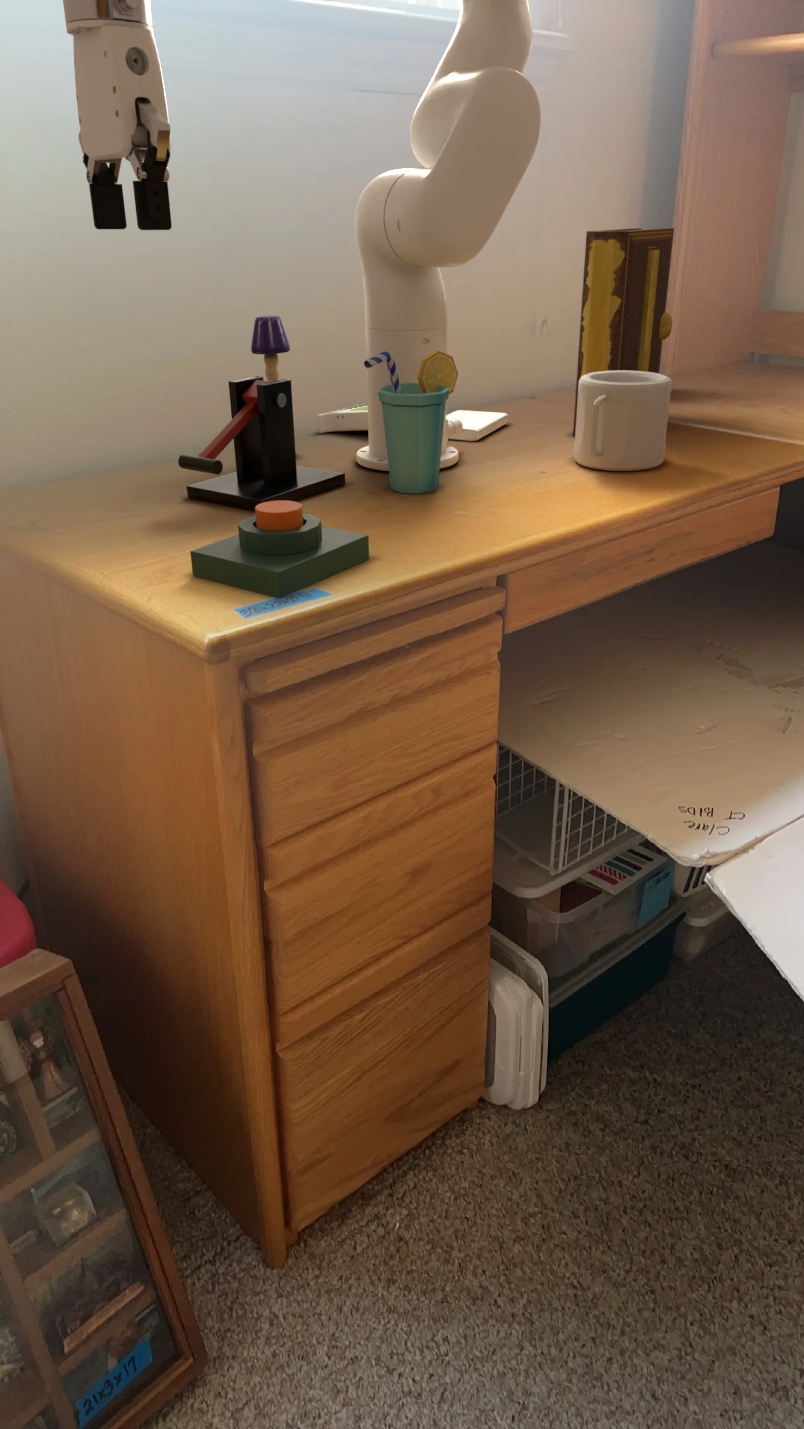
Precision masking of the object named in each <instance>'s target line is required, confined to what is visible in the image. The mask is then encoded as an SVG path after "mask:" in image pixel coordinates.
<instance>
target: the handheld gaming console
mask: <svg viewBox="0 0 804 1429" xmlns="http://www.w3.org/2000/svg"><path fill="white" fill-rule="evenodd" d="M345 409H346V408H342V410H341V409H336V410H333V411H329V412H324V413H320V414H317V415H316V421H317V427H318V428H317V429H318V432H319V434H325V433H330V432H331V433H332V432H353V431H355V432H357V431H368V405H367V406H362V407H357V408H352V409H346V410H345Z"/></svg>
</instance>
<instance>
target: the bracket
mask: <svg viewBox="0 0 804 1429" xmlns="http://www.w3.org/2000/svg"><path fill="white" fill-rule="evenodd" d="M256 380H262V381H264V376H260V375H256V376H249V377H243V378H240V379H233V380H229V381H228V392H229V393H228V394H229V404H230V415H231V420H232V419H233V418H234V417H235V416H236V415H237V414H238V413H239V411H240V410H241V409H242V408H243V407H244V406H245V405H246V403H245V401H244V399H243V397H242V395H243V394H244V393H245V392H246V391H247V390H248V389H249V388H250V387H251V386H252V384H253V383H254V382H255V381H256ZM256 386H257V399H258V412H259V415H254V417H253V418H252V419H251V420H250V421H249V422H248V423H247V424H246V425H245V426H244V428H243V429H242V430H241V431H240V432H239V433H238V434H237V435H236V436H235V437H234V439H233V449H234V457H235V458H234V460H235V469H236V470H235V471H233V472H230V473H226V474H223V475H220V476H216V477H213V478H209V479H206V480H203V481H199V482H196V483H192V484H189V485H186V496H187V498H188V499H193V500H194V499H195V500H197V501H198V500H199V501H202V502H203V501H204V502H208V503H213V504H217V505H218V504H219V505H223V506H227V507H228V506H229V507H233V508H238V509H243V510H249V511H254V512H255V507H256V506H257V505H258V504H261V503H264V502H268V501H277V500H287V501H295V502H298V501H300V500H303V499H306V498H308V497H312V496H314V495H318V494H320V493H323V492H326V491H329V490H333V489H335V488H338V487H341V486H344V485H346V473H345V472H342V471H336V470H329V469H323V468H316V467H311V466H304V465H298V464H297V457H296V455H297V452H296V438H295V437H296V436H295V423H294V421H295V420H294V407H293V406H294V405H293V391H292V390H293V389H292V380H291V379H288V378H282V379H278V380H277V381H272V382H267V383H262V384H257V385H256ZM295 452H296V453H295Z"/></svg>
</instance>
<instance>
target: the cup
mask: <svg viewBox="0 0 804 1429" xmlns="http://www.w3.org/2000/svg"><path fill="white" fill-rule="evenodd" d="M383 361H386V362H387V366H388V370H389V374H390V378H391V382H392V385H387V386H385V387H383V388H382V389H380V390H379V391H378V396H379V401H380V402H382V409H383V419H384V428H385V438H386V447H387V457H388V466H389V471H388V472H389V473H388V475H389V484H390V489H391V490H393V491H395V492H397V493H400V494H419V495H420V494H424V493H430V492H434V491H436V490H437V488H438V487H439V479H440V458H441V447H442V436H443V425H444V414H445V404H446V405H447V400H448V399H449V395H451V394H453V393H454V390H455V387H456V384H457V380H458V376H459V372H458V368H457V366H456V363H455V361H454V358H453V356H452V355H449V354H445V353H443V352H440V351H434V352H433V353H431V354H430V355H428V356H427V357H425V358H424V359H423V360H422V362H421V366H420V370H419V374H418V377H417V379H418V382H419V383H405V384H400V382H399V378H398V373H397V369H396V365H395V361H394V358H393V357H392V355H391V354H389V353H388V352H387V351H384V352H382V353H380V354H378V355H376V356H374V357H372V358H370V359H368V360H366V359H365V360H364V362H363V365H364V367H365V368H366V369H367V368H370V367H372V366H374V365H376V364H378V363H381V362H383Z"/></svg>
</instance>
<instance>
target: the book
mask: <svg viewBox="0 0 804 1429" xmlns="http://www.w3.org/2000/svg"><path fill="white" fill-rule="evenodd" d="M674 232H675V228H674V227H660V228H647V229H642V228H641V227H638V228H637V227H636V228H633V227H631V228H630V227H629V228H628V227H627V228H613V229H599V230H586V232H585V244H584V245H585V246H584V261H583V274H582V275H583V277H582V291H581V304H580V305H581V306H580V320H579V335H578V336H579V337H578V350H577V366H576V380H575V381H576V382H575V396H574V409H573V410H574V412H573V426H572V428H573V429H572V436H573V437H575V432H576V417H577V402H578V385H579V380H580V378H581V377H582V376H583V375H586V374H589V373H593V372H599V371H615V370H628V371H645V372H653V373H659V374H660V369H661V368H660V367H661V359H662V358H661V357H662V349H663V348H662V347H663V341H665V340H666V339H667V338H669V337H670V335H671V333H672V328H673V318H672V315H671V314H670V313H669V312H666V311H667V310H666V309H667V300H668V292H669V290H668V289H669V281H670V273H671V272H670V271H671V261H672V252H673V241H674Z"/></svg>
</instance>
